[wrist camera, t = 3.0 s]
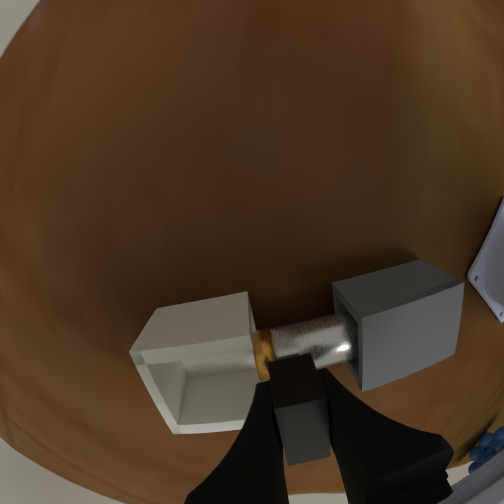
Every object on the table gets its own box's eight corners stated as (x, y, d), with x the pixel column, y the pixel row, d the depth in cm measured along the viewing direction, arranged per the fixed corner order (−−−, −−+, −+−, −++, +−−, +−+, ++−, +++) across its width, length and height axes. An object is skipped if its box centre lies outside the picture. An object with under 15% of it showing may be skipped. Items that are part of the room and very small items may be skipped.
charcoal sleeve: (419, 259, 16) (464, 282, 11) (417, 321, 17) (454, 354, 13) (331, 282, 16) (361, 317, 12) (337, 347, 17) (361, 392, 13)
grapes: (490, 413, 22) (529, 460, 11) (507, 407, 23) (543, 447, 11) (446, 465, 25) (474, 511, 13) (468, 456, 25) (495, 497, 14)
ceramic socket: (247, 291, 16) (249, 334, 11) (266, 370, 18) (272, 424, 13) (156, 308, 16) (129, 351, 11) (186, 382, 18) (173, 434, 13)
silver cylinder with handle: (392, 279, 15) (473, 339, 8) (392, 334, 16) (454, 405, 9) (247, 314, 16) (252, 412, 8) (261, 368, 16) (271, 468, 9)
